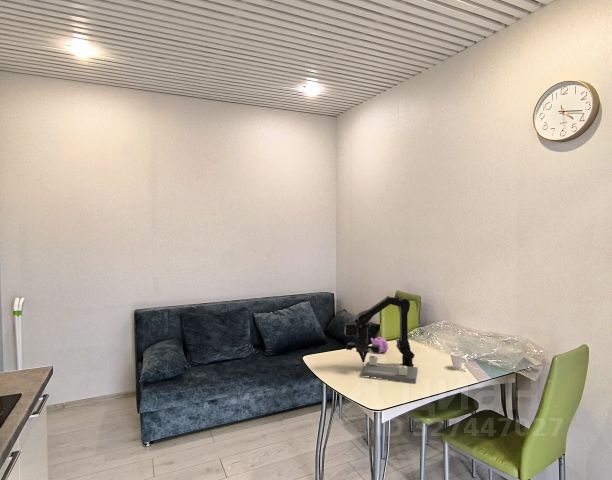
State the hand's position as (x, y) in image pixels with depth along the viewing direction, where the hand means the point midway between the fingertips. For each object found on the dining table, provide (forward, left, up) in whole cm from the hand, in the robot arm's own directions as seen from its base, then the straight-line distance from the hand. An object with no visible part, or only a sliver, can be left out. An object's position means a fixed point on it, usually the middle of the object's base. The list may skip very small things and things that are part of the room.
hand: (363, 362), depth 211 cm
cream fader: (0, +6, -1) cm, 6 cm away
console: (+5, +16, -3) cm, 17 cm away
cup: (-14, +52, -4) cm, 54 cm away
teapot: (-31, +4, -4) cm, 32 cm away
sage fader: (+10, +23, 0) cm, 25 cm away
